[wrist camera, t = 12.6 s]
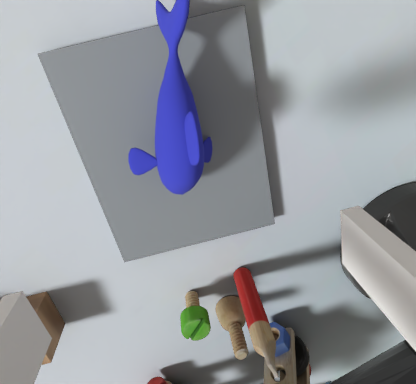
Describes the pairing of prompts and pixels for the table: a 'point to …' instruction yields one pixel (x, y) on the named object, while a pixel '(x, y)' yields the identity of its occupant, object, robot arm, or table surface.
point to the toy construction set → (258, 328)
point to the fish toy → (174, 116)
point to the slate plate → (145, 131)
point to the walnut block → (48, 320)
